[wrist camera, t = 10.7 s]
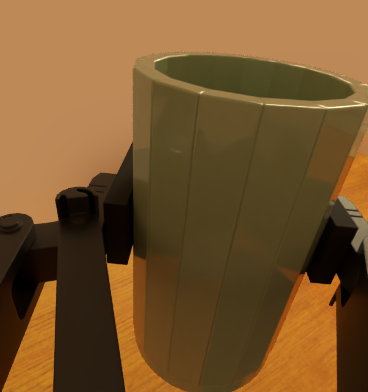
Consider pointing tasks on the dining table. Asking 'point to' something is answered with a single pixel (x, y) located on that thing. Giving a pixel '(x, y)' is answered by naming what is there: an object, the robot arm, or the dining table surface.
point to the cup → (230, 204)
